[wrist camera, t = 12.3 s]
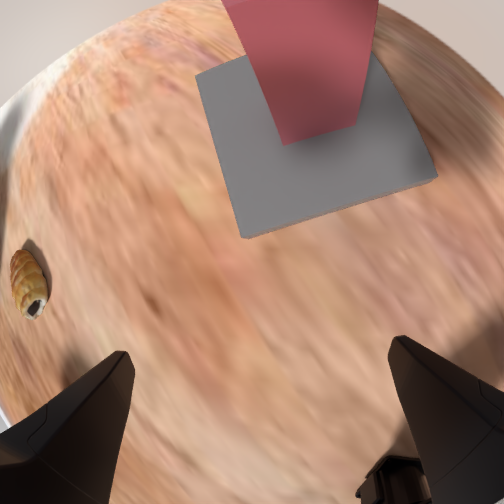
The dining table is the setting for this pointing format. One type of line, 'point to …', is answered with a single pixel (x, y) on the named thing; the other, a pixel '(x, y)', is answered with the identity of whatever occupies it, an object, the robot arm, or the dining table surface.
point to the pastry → (28, 284)
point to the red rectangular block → (307, 59)
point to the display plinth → (308, 151)
